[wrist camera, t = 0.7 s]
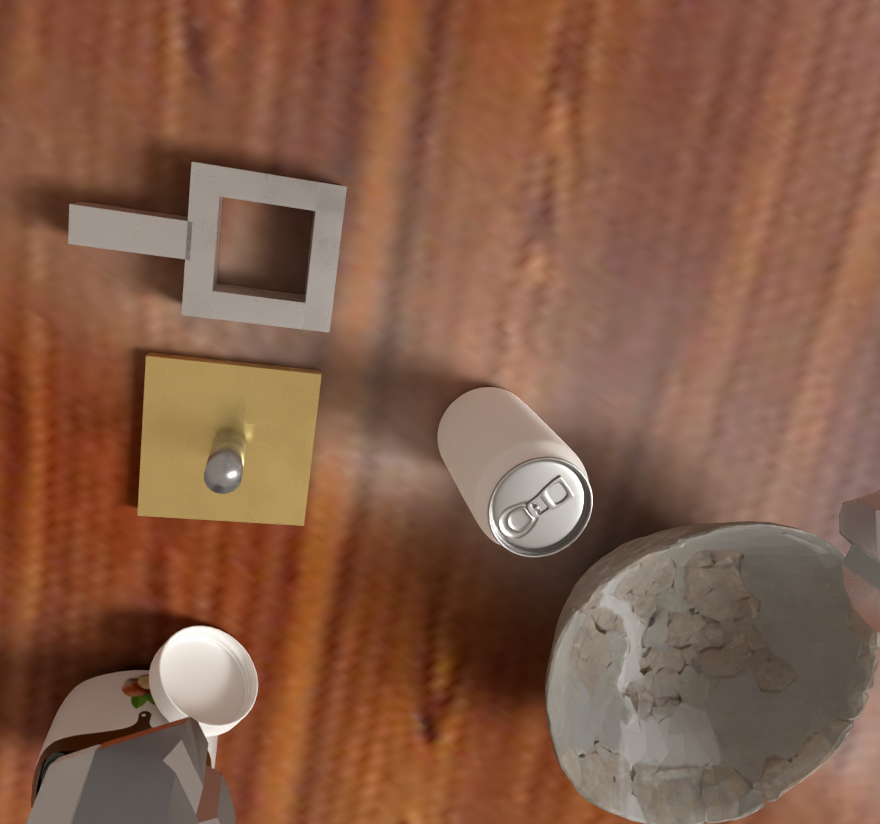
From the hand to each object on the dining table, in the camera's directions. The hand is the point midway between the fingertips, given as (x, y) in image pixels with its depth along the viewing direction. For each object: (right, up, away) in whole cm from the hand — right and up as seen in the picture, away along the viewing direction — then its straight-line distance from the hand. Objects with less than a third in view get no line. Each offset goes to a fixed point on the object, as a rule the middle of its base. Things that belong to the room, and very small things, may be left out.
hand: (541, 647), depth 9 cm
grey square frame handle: (-14, +13, +34) cm, 39 cm away
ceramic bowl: (+14, -11, +48) cm, 51 cm away
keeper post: (-14, +1, +38) cm, 40 cm away
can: (+2, +2, +41) cm, 41 cm away
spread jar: (-20, -16, +42) cm, 49 cm away
